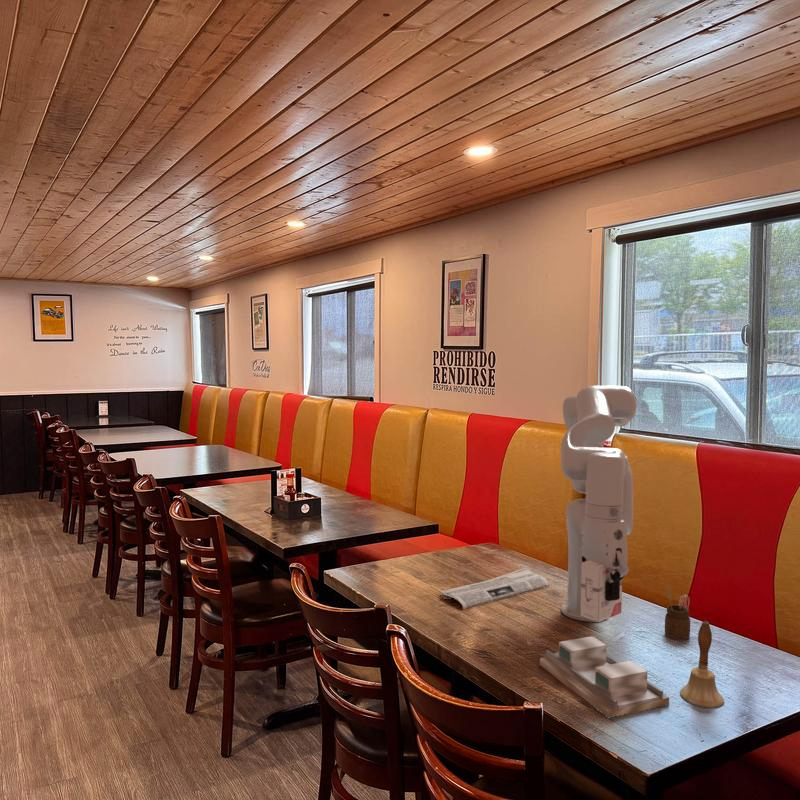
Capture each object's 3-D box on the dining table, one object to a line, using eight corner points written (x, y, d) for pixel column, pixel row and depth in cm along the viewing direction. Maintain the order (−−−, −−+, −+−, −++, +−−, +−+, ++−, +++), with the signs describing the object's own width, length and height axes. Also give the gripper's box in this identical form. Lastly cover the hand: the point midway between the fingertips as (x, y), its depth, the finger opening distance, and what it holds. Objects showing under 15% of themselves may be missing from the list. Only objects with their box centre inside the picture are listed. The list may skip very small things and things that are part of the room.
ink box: (603, 606, 145) (604, 554, 144) (623, 613, 141) (624, 559, 141) (579, 616, 140) (580, 561, 139) (598, 623, 136) (600, 567, 135)
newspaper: (463, 611, 183) (463, 599, 182) (436, 598, 193) (436, 586, 193) (552, 587, 202) (552, 576, 202) (523, 576, 213) (523, 565, 212)
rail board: (594, 654, 155) (595, 629, 155) (669, 704, 133) (670, 675, 132) (539, 664, 150) (540, 638, 149) (607, 718, 127) (608, 688, 127)
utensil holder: (680, 642, 162) (682, 594, 161) (658, 633, 167) (659, 587, 167) (695, 637, 165) (696, 590, 165) (672, 628, 171) (673, 583, 170)
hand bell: (711, 687, 140) (713, 614, 139) (732, 707, 132) (735, 630, 131) (672, 687, 140) (675, 614, 139) (691, 708, 131) (694, 630, 130)
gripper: (646, 519, 132) (644, 606, 134) (593, 501, 149) (591, 579, 150) (616, 522, 130) (613, 611, 131) (565, 503, 146) (563, 583, 147)
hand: (601, 593), depth 140 cm, fingers closed on ink box, 6 cm apart
